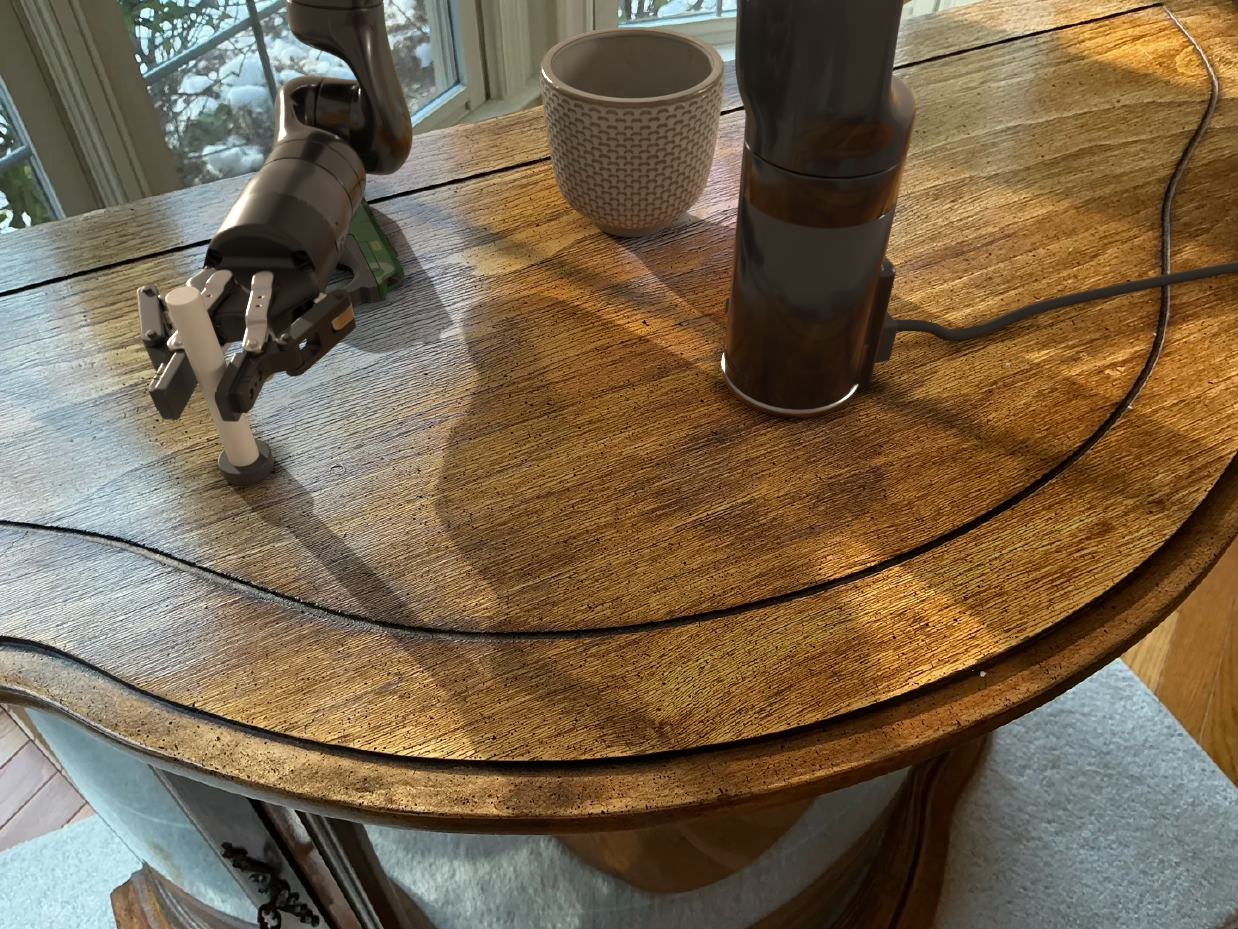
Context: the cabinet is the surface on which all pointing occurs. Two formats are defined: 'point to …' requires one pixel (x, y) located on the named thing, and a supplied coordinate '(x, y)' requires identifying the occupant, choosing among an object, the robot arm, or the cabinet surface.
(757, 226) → the robot arm
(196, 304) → the beige rod with base
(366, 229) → the gun
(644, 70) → the planter
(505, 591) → the cabinet surface
